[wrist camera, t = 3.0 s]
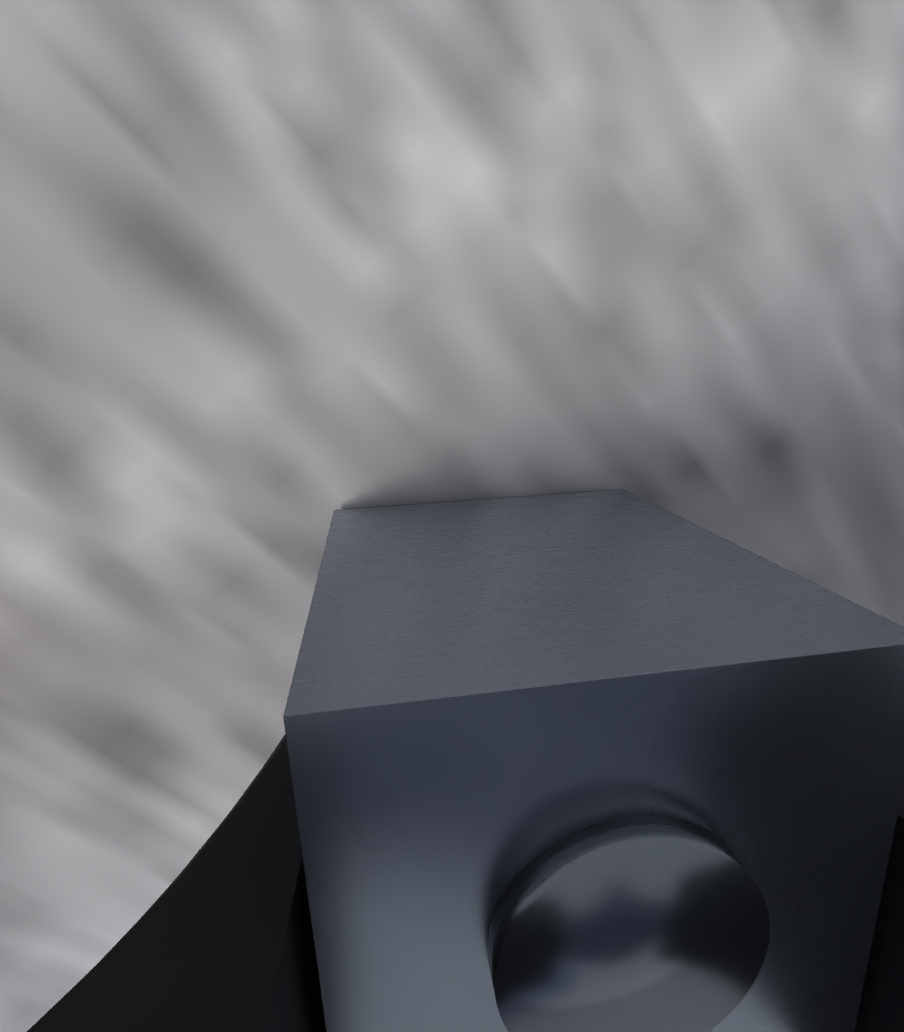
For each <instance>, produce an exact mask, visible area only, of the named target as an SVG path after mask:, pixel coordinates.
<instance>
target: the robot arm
mask: <svg viewBox="0 0 904 1032" xmlns="http://www.w3.org/2000/svg"><path fill="white" fill-rule="evenodd" d="M27 1032H327V1031H326V1024H325V1017H324V1009H323V1002H322V995H321V988H320V980H319V973H318V966H317V958H316V951H315V944H314V936H313V929H312V922H311V915H310V907H309V900H308V893H307V885H306V878H305V871H304V864H303V856H302V849H301V842H300V834H299V827H298V820H297V813H296V805H295V798H294V791H293V783H292V776H291V769H290V762H289V754H288V747H287V740H286V734H285V735H284V737H283V738H282V740H281V741H280V743H279V744H278V746H277V747H276V749H275V750H274V752H273V753H272V755H271V756H270V758H269V759H268V760H267V762H266V763H265V765H264V766H263V768H262V769H261V771H260V772H259V773H258V775H257V776H256V777H255V779H254V780H253V782H252V783H251V784H250V786H249V787H248V788H247V790H246V791H245V792H244V794H243V795H242V797H241V798H240V799H239V801H238V802H237V803H236V805H235V806H234V807H233V809H232V810H231V811H230V813H229V814H228V815H227V817H226V818H225V819H224V821H223V822H222V823H221V824H220V825H219V827H218V828H217V829H216V830H215V832H214V833H213V834H212V835H211V837H210V838H209V839H208V840H207V841H206V843H205V844H204V845H203V846H202V848H201V849H200V850H199V851H198V853H197V854H196V855H195V856H194V857H193V859H192V860H191V861H190V862H189V864H188V865H187V866H186V867H185V868H184V870H183V871H182V872H181V873H180V874H179V876H178V877H177V878H176V879H175V880H174V881H173V882H172V884H171V885H170V886H169V887H168V888H167V889H166V890H165V892H164V893H163V894H162V895H161V896H160V897H159V898H158V900H157V901H156V902H155V903H154V904H153V905H152V906H151V907H150V908H149V910H148V911H147V912H146V913H145V914H144V915H143V916H142V917H141V918H140V919H139V921H138V922H137V923H136V924H135V925H134V926H133V927H132V928H131V929H130V930H129V931H128V932H127V933H126V934H125V935H124V936H123V938H122V939H121V940H120V941H119V942H118V943H117V944H116V945H115V946H114V947H113V948H112V949H111V950H110V951H109V952H108V953H107V954H106V955H105V956H104V958H103V959H102V960H101V961H100V962H99V963H98V964H97V965H96V966H95V967H94V968H93V969H92V970H91V971H90V972H89V973H88V974H87V975H86V976H85V977H84V978H83V979H82V980H81V981H79V982H78V983H77V984H76V985H75V986H74V987H73V988H72V989H71V990H70V991H69V992H68V993H67V994H66V995H65V996H64V997H63V998H62V999H61V1000H60V1001H59V1002H58V1003H57V1004H55V1005H54V1006H53V1007H52V1008H51V1009H50V1010H49V1011H48V1012H47V1013H46V1014H45V1015H44V1016H43V1017H42V1018H41V1019H40V1020H39V1021H38V1022H37V1023H36V1024H34V1025H33V1026H32V1027H31V1028H30V1029H29V1030H28V1031H27ZM854 1032H904V785H903V790H902V795H901V800H900V805H899V810H898V815H897V820H896V825H895V830H894V835H893V840H892V845H891V850H890V855H889V860H888V865H887V870H886V875H885V880H884V885H883V890H882V895H881V900H880V905H879V910H878V915H877V920H876V925H875V930H874V935H873V940H872V945H871V950H870V955H869V960H868V965H867V970H866V975H865V980H864V985H863V990H862V995H861V1000H860V1005H859V1010H858V1015H857V1020H856V1025H855V1030H854Z"/></svg>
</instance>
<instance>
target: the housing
mask: <svg viewBox="0 0 904 1032" xmlns="http://www.w3.org/2000/svg"><path fill="white" fill-rule="evenodd" d="M283 718H284V725H285V732H286V740H287V747H288V754H289V762H290V769H291V776H292V783H293V791H294V798H295V805H296V813H297V820H298V827H299V834H300V842H301V849H302V856H303V864H304V871H305V878H306V885H307V893H308V900H309V907H310V915H311V922H312V929H313V936H314V944H315V951H316V958H317V966H318V973H319V980H320V988H321V995H322V1002H323V1009H324V1017H325V1024H326V1031H327V1032H854V1030H855V1025H856V1020H857V1015H858V1010H859V1005H860V1000H861V995H862V990H863V985H864V980H865V975H866V970H867V965H868V960H869V955H870V950H871V945H872V940H873V935H874V930H875V925H876V920H877V915H878V910H879V905H880V900H881V895H882V890H883V885H884V880H885V875H886V870H887V865H888V860H889V855H890V850H891V845H892V840H893V835H894V830H895V825H896V820H897V815H898V810H899V805H900V800H901V795H902V790H903V785H904V627H903V626H901V625H899V624H896V623H894V622H892V621H890V620H888V619H886V618H884V617H882V616H880V615H878V614H876V613H874V612H872V611H870V610H868V609H866V608H864V607H862V606H860V605H858V604H856V603H854V602H852V601H850V600H848V599H846V598H844V597H842V596H839V595H837V594H835V593H833V592H831V591H829V590H827V589H825V588H823V587H821V586H819V585H817V584H815V583H813V582H811V581H809V580H807V579H805V578H803V577H801V576H799V575H797V574H795V573H793V572H791V571H789V570H787V569H784V568H782V567H780V566H778V565H776V564H774V563H772V562H770V561H768V560H766V559H764V558H762V557H760V556H758V555H756V554H754V553H752V552H750V551H748V550H746V549H744V548H742V547H740V546H738V545H736V544H734V543H732V542H729V541H727V540H725V539H723V538H721V537H719V536H717V535H715V534H713V533H711V532H709V531H707V530H705V529H703V528H701V527H699V526H697V525H695V524H693V523H691V522H689V521H687V520H685V519H683V518H681V517H679V516H677V515H674V514H672V513H670V512H668V511H666V510H664V509H662V508H660V507H658V506H656V505H654V504H652V503H650V502H648V501H646V500H644V499H642V498H640V497H638V496H636V495H634V494H632V493H630V492H628V491H626V490H624V489H619V490H605V491H591V492H578V493H564V494H551V495H537V496H523V497H510V498H496V499H483V500H469V501H455V502H442V503H428V504H415V505H401V506H387V507H374V508H360V509H347V510H334V513H333V517H332V521H331V526H330V530H329V534H328V538H327V542H326V546H325V550H324V554H323V558H322V562H321V566H320V570H319V574H318V578H317V582H316V586H315V590H314V594H313V598H312V603H311V607H310V611H309V615H308V619H307V623H306V627H305V631H304V635H303V639H302V643H301V647H300V651H299V655H298V659H297V663H296V667H295V671H294V675H293V679H292V684H291V688H290V692H289V696H288V700H287V704H286V708H285V712H284V716H283Z"/></svg>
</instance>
